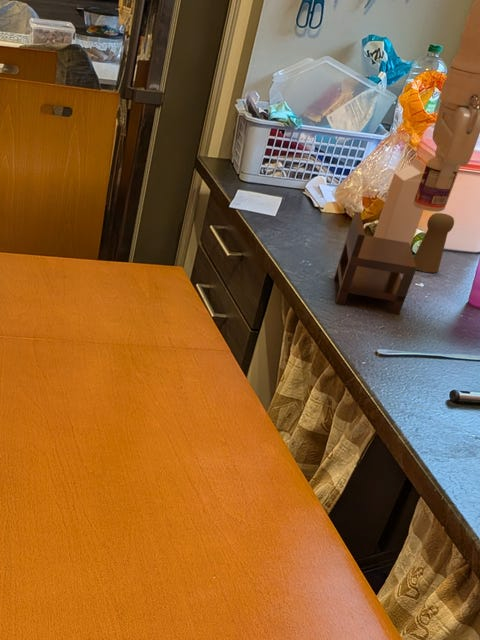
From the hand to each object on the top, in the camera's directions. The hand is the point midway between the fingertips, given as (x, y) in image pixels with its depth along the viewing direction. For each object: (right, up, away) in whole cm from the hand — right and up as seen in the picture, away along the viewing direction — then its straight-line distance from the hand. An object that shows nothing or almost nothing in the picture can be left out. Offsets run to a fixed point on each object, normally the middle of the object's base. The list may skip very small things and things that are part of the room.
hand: (437, 182), depth 161 cm
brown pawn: (+17, +2, +42) cm, 46 cm away
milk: (+5, -2, +36) cm, 36 cm away
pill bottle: (0, -3, +3) cm, 4 cm away
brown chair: (-3, -11, +24) cm, 27 cm away
